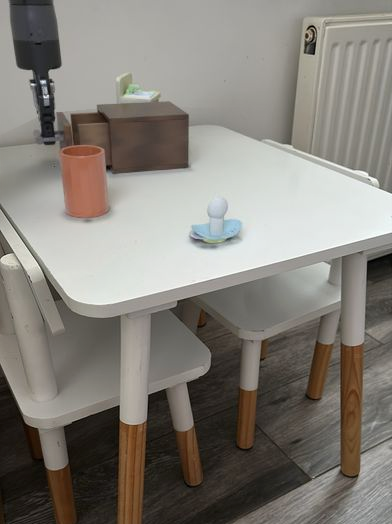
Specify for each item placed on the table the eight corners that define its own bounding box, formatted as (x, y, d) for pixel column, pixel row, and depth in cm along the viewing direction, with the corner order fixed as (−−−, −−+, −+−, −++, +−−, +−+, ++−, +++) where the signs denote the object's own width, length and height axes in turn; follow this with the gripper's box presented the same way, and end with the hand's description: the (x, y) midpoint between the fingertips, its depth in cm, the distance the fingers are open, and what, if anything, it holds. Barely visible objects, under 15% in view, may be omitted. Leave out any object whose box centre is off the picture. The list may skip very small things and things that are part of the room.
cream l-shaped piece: (152, 147, 118) (150, 79, 111) (119, 144, 120) (115, 77, 112) (162, 137, 125) (160, 73, 118) (130, 135, 126) (127, 71, 119)
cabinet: (113, 173, 103) (109, 118, 97) (100, 155, 112) (96, 104, 107) (188, 167, 107) (188, 114, 101) (170, 150, 116) (169, 101, 111)
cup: (59, 215, 85) (51, 155, 80) (75, 201, 90) (69, 143, 85) (100, 219, 84) (95, 158, 79) (114, 204, 89) (110, 146, 84)
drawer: (41, 173, 99) (34, 127, 95) (35, 156, 108) (29, 113, 104) (141, 165, 104) (140, 121, 100) (128, 149, 113) (126, 108, 109)
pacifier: (180, 235, 80) (199, 249, 75) (180, 191, 76) (199, 204, 72) (225, 227, 82) (246, 240, 78) (227, 184, 79) (248, 196, 75)
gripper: (10, 32, 97) (25, 136, 106) (14, 40, 86) (31, 155, 96) (54, 32, 99) (65, 134, 108) (63, 40, 88) (75, 152, 98)
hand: (49, 144), depth 102 cm, fingers closed
